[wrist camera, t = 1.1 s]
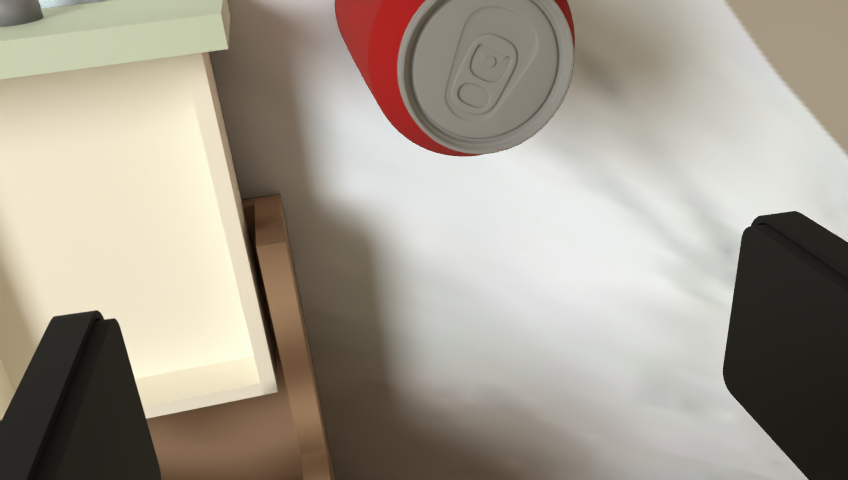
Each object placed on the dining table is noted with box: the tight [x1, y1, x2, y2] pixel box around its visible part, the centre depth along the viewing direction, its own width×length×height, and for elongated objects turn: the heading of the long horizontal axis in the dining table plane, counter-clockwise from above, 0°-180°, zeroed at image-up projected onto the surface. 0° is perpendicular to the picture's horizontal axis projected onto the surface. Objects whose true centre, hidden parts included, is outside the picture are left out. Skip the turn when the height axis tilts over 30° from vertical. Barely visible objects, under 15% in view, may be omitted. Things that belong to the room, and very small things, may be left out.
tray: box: [0, 0, 278, 420], centre depth 31 cm, size 19×15×6 cm
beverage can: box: [335, 0, 575, 156], centre depth 27 cm, size 7×7×12 cm
